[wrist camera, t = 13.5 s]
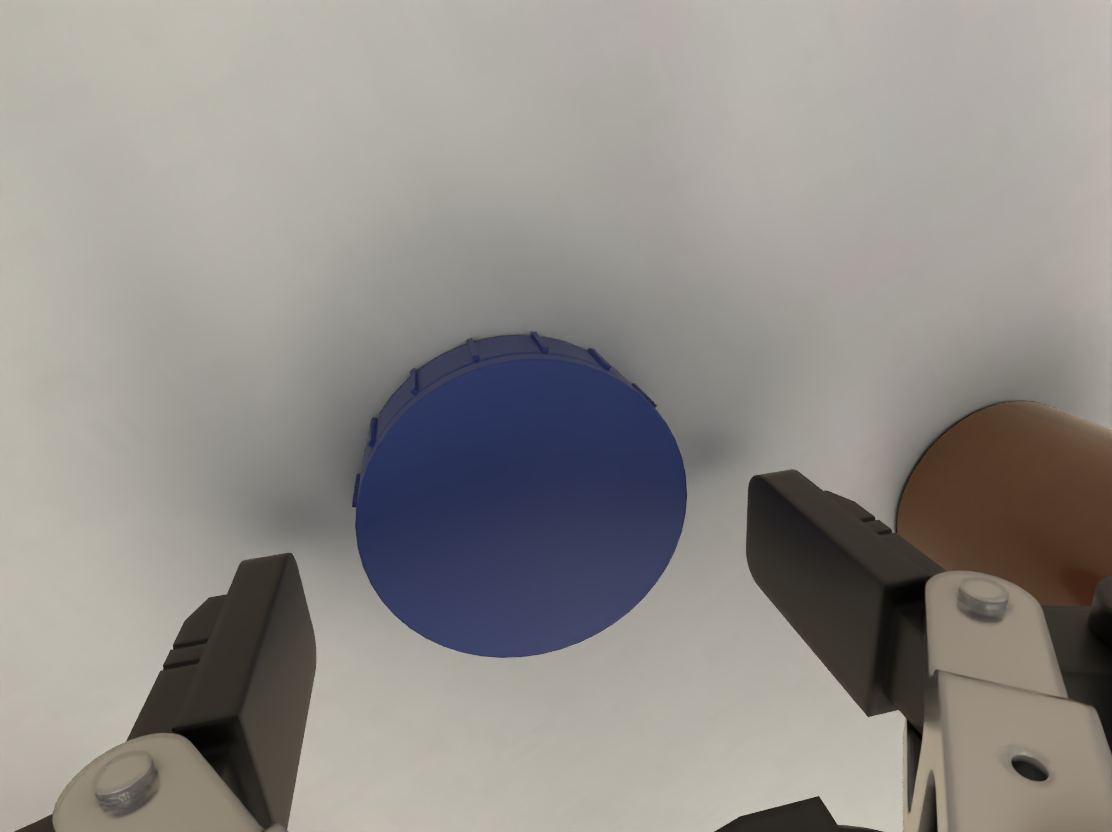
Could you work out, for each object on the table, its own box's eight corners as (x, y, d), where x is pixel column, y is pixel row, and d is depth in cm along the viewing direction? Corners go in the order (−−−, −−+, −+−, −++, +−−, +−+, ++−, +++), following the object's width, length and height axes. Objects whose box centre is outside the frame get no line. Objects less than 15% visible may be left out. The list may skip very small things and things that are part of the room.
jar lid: (333, 352, 12) (322, 381, 11) (655, 316, 13) (691, 337, 12) (386, 627, 15) (383, 687, 13) (658, 578, 16) (687, 627, 14)
